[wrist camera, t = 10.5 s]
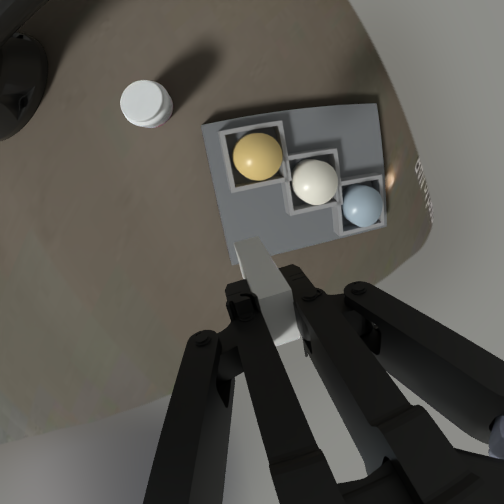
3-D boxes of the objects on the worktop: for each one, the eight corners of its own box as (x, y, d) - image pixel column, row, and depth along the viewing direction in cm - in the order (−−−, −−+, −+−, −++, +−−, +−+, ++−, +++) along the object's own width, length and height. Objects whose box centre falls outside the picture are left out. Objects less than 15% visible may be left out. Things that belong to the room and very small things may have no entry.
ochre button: (227, 137, 31) (230, 137, 29) (272, 129, 32) (278, 129, 29) (236, 181, 33) (239, 184, 31) (279, 172, 34) (285, 175, 31)
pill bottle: (172, 87, 30) (167, 72, 23) (174, 125, 32) (168, 122, 24) (133, 91, 29) (115, 80, 22) (134, 130, 31) (117, 129, 24)
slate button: (337, 186, 35) (346, 190, 33) (371, 180, 36) (381, 184, 34) (341, 225, 37) (349, 230, 35) (373, 217, 38) (383, 222, 36)
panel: (200, 126, 33) (201, 124, 29) (366, 104, 35) (384, 102, 31) (229, 257, 39) (234, 271, 36) (377, 221, 42) (393, 230, 38)
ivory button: (286, 162, 33) (293, 164, 31) (326, 156, 34) (335, 157, 32) (293, 204, 35) (299, 209, 33) (331, 196, 36) (339, 200, 34)
